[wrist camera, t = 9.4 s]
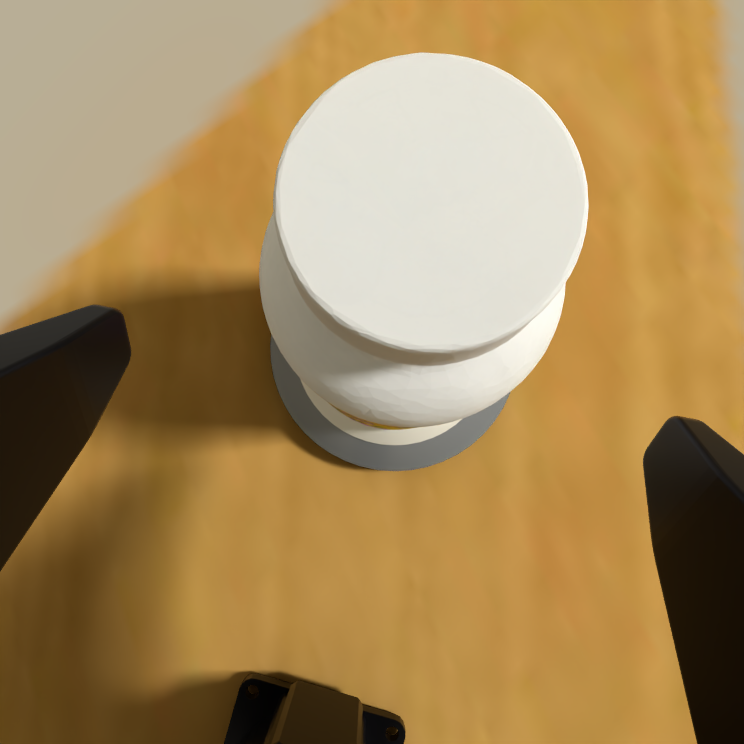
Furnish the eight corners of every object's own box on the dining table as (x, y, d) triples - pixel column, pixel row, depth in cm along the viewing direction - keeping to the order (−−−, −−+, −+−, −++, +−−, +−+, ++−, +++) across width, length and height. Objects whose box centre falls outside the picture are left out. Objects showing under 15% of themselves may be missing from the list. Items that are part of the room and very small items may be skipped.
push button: (479, 497, 20) (485, 501, 19) (245, 432, 21) (238, 432, 20) (535, 269, 22) (543, 260, 20) (312, 211, 22) (309, 199, 21)
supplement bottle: (277, 326, 20) (114, 133, 7) (412, 237, 21) (478, -88, 8) (371, 465, 19) (372, 518, 7) (508, 370, 20) (754, 248, 7)
